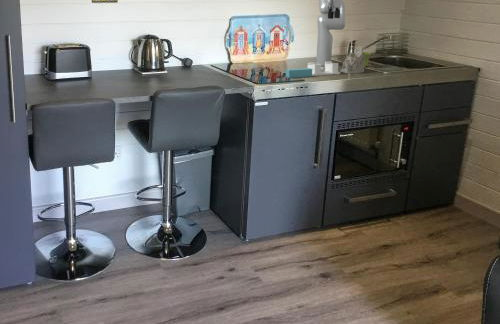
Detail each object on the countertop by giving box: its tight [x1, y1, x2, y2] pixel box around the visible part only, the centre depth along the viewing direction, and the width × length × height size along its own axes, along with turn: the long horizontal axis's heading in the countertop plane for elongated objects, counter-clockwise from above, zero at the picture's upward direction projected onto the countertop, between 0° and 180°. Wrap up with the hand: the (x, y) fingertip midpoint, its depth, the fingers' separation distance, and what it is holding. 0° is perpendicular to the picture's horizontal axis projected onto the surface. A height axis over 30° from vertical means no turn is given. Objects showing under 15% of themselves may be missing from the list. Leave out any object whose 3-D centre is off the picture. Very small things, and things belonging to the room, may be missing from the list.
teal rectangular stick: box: [285, 67, 313, 79], centre depth 326 cm, size 4×15×4 cm, turn 116°
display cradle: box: [307, 60, 341, 76], centre depth 338 cm, size 10×18×6 cm, turn 116°
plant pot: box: [363, 51, 372, 68], centre depth 364 cm, size 9×9×9 cm
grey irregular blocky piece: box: [339, 47, 365, 74], centre depth 347 cm, size 16×16×15 cm
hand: (333, 18), depth 330 cm, fingers open, 9 cm apart
